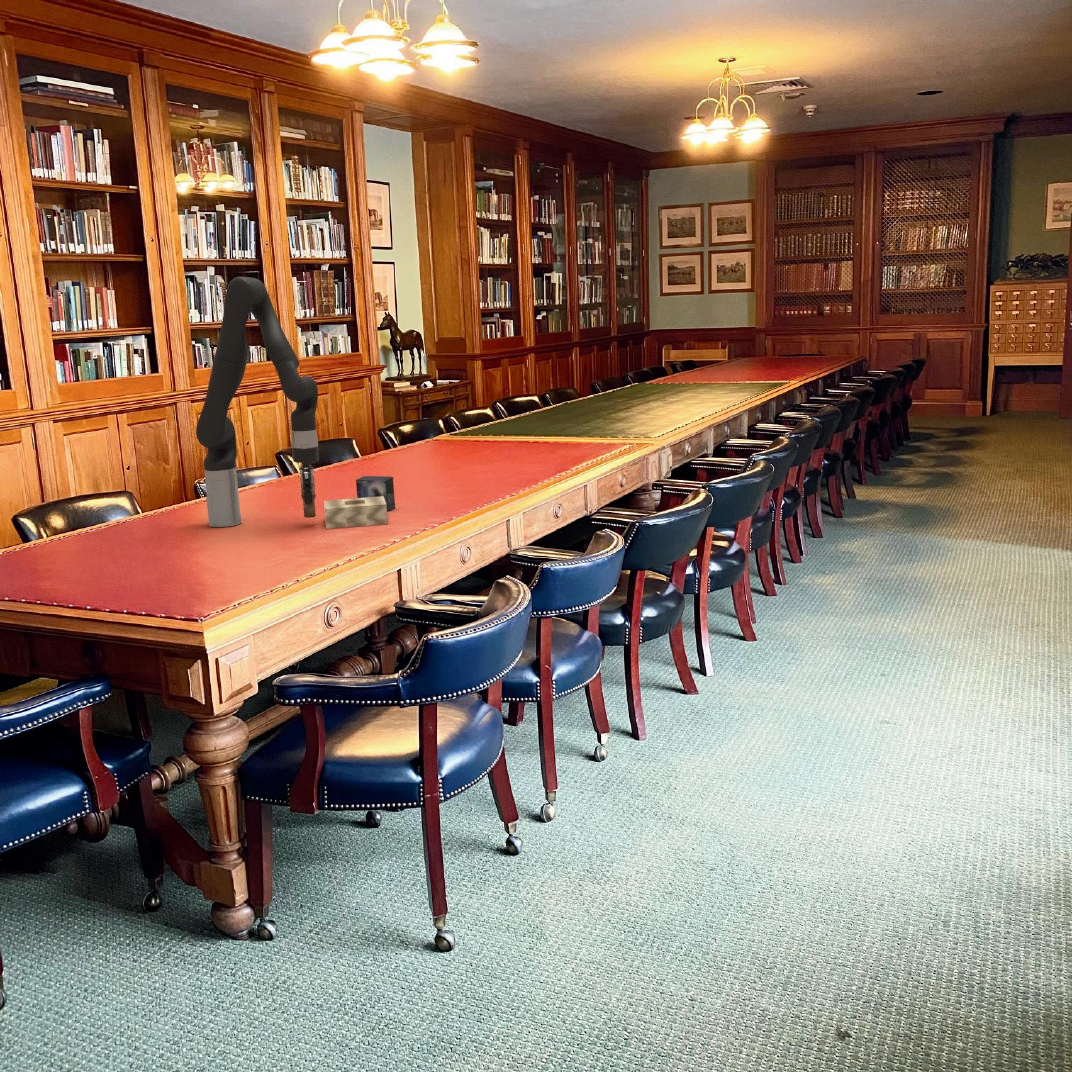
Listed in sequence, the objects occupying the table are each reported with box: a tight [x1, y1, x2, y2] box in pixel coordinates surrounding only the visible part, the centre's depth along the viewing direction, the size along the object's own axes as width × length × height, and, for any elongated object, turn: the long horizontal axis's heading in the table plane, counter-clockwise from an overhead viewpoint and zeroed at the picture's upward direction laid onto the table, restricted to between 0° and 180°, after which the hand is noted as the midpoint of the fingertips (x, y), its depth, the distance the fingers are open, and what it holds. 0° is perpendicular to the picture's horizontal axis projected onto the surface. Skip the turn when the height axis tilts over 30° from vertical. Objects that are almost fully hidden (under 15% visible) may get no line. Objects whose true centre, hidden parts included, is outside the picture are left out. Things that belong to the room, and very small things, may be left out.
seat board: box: [323, 496, 389, 530], centre depth 319 cm, size 18×14×6 cm
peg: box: [299, 475, 317, 519], centre depth 315 cm, size 4×4×12 cm
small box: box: [355, 475, 396, 513], centre depth 336 cm, size 11×6×10 cm, turn 73°
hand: (308, 502), depth 316 cm, fingers closed on peg, 4 cm apart
